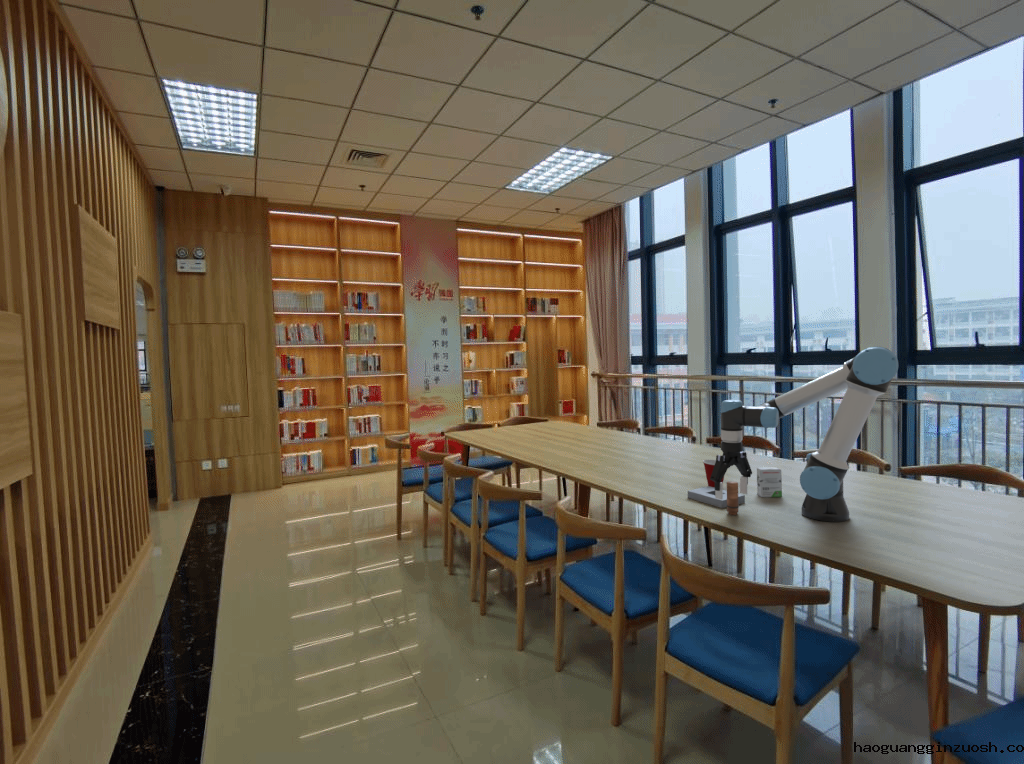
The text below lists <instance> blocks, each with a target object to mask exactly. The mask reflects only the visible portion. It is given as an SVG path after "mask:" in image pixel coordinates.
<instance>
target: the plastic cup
mask: <svg viewBox="0 0 1024 764" xmlns="http://www.w3.org/2000/svg"><path fill="white" fill-rule="evenodd" d="M715 462H716V459H703V460H702V463H703V466H704V470H705V476H706V482H707V487H708V486H711V487H715V482H714V481H712V480H710V477H711V474H712V471H713V468H714V465H715ZM718 479H719V478H718ZM724 479H725V476H724V477H723V478H722V480H721V482H723V483H724Z"/></svg>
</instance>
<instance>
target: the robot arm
mask: <svg viewBox="0 0 1024 764" xmlns="http://www.w3.org/2000/svg"><path fill="white" fill-rule="evenodd" d="M898 370H899V360H898V357H897V355H896V354H895V353H894V352H893V351H892V350H890V349H889V348H887V347H883V346H870V347H866V348H865V349H862V350H861V351H859V352H858V353H857V355H855V356H854V357H853V358H851V359H849V360H847V361H845V362H844V363H843V366H840V367H839V368H837V369H834V370H832V371H831V372H828V373H826V374H824V375H822V376H820V377H818V378H815V379H813V380H811V381H809V382H807V383H805V384H803V385H800V386H798V387H796V388H794V389H791V390H789V391H788V392H785V393H784V394H783V393H782V394H781V395H779V396H777V397H775V398H772V399H770V400H768V401H767V402H763V403H762V404H760V405H758V406H750V405H748V406H746V405H744V403H743V401H742V400H740V399H726V400H723V401H722V402H721V406H720V439H721V440H720V451H722V455H720V454H716V457H715V460H716V462H715V465H714V468H713V471H712V474H711V477H710V480H712V481H714V482H715V498H717V499H720V500H723V490H724V489H723V488H724V487H723V486H724V484H723V483H724V481H723V482H721V480H722V478H723V477H724V478H725V475H726V473H727V471H728V469H730V468H731V467H733V466H735V468H736V469H737V470H738V471H739V473H740V476H739V477H740V478H739V494H742V495H748V484H749V478H751V475H752V474H753V471H752V468H751V465H750V462H749V459H748V457H747V452H746V451H743V442H742V441H743V427H753V428H763V429H764V428H765V429H773V428H777V427H778V425H779V419H782V418H784V417H786V416H787V415H790V414H792V413H795V412H797V411H799V410H801V409H804V408H806V407H808V406H811V405H813V404H816V403H818V402H820V401H823V400H824V399H826V398H829V397H832V396H834V395H836V394H838V393H840V392H842V391H845V390H846V391H845V392H844V393H845V394H844V396H843V398H842V400H841V402H840V404H839V406H838V408H837V410H836V413H835V414H834V417H833V419H832V421H831V424H830V425H829V427H828V429H827V432H826V433H825V436H824V438H823V441H822V442H821V445H820V446H819V448H818V450H816V451H812V452H810V453H807V454H806V457H805V461H806V465H805V468H804V469H803V471H801V473H800V475H799V482H800V483H799V484H800V487H801V489H802V490H803V492H804V493H806V494H805V497H804V499H803V502H802V505H801V514H802V515H803V516H804V517H806V518H809V519H812V520H815V521H822V522H831V523H832V522H833V523H834V522H835V523H837V522H838V523H839V522H845V521H848V520H849V519H850V511H849V508H848V504H847V502H846V499H845V496H844V479H845V476H846V474H847V473H848V470H849V468H850V467H849V466H848V464H847V460H848V458H849V456H850V454H851V451H852V449H853V448H854V446H855V443H856V442H857V439H858V437H859V435H860V434H861V431H862V430H863V428H864V425H865V423H866V421H867V419H868V417H869V415H870V413H871V411H872V408H873V406H874V405H875V404H876V403H875V402H876V401H877V398H878V397H879V396H882V395H885V394H886V393H887V390H888V388H889V387H890V385H891V383H892V381H893V379H894V377H895V376H896V375H897V373H898ZM718 478H719V479H718Z"/></svg>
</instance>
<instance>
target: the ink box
mask: <svg viewBox="0 0 1024 764" xmlns="http://www.w3.org/2000/svg"><path fill="white" fill-rule="evenodd" d="M782 482H783V481H782V469H780V468H779V467H776V466H775V467H771V466H770V467H769V466H768V467H756V490H757V491H756V495H758V496H759V497H760V498H782V497H783V490H782V489H783V488H782V487H783V483H782Z"/></svg>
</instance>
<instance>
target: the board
mask: <svg viewBox="0 0 1024 764" xmlns="http://www.w3.org/2000/svg"><path fill="white" fill-rule="evenodd" d="M745 495H746V494H742V493H738V505H740V504H745V503H746V501H745V499H746V498H745ZM687 499H691V500H694V501H697V502H700V503H704V504H707V505H710V506H711V505H712V506H715V507H718V508H720V509H723V508H724V509H725V508H727V489H723V500H720V499H717V498H715V487H711V486H708V485H707V486H705V487H704V486H703V487H699V488H695V489H690V490H687Z"/></svg>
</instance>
